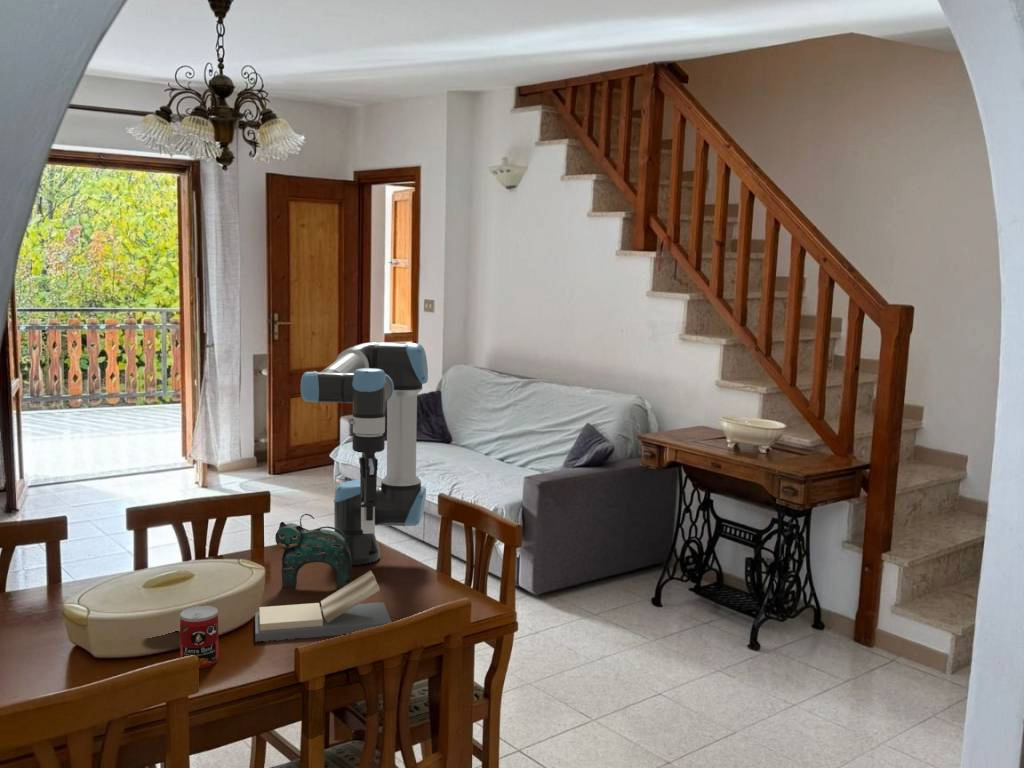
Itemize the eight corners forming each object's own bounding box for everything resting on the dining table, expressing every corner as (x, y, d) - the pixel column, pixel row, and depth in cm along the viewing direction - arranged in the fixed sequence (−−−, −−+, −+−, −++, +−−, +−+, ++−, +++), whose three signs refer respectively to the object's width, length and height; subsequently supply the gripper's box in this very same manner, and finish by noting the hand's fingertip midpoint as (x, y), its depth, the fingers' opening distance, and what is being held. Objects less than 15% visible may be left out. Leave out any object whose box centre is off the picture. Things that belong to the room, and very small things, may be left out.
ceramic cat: (274, 589, 236) (274, 515, 234) (280, 581, 242) (279, 509, 240) (349, 590, 237) (350, 516, 235) (353, 582, 243) (353, 510, 241)
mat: (255, 619, 214) (255, 605, 214) (383, 609, 223) (383, 595, 223) (255, 642, 201) (255, 626, 201) (392, 630, 210) (392, 616, 209)
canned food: (179, 671, 185) (178, 620, 184) (182, 655, 193) (181, 606, 192) (217, 667, 187) (217, 617, 186) (219, 652, 195) (218, 604, 194)
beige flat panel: (323, 606, 217) (320, 601, 217) (373, 575, 220) (370, 570, 219) (327, 622, 207) (324, 617, 206) (380, 590, 209) (376, 584, 209)
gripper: (349, 429, 217) (348, 523, 219) (356, 440, 201) (355, 541, 204) (379, 428, 219) (378, 521, 221) (389, 439, 203) (388, 539, 206)
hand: (367, 530), depth 213 cm, fingers open, 3 cm apart
